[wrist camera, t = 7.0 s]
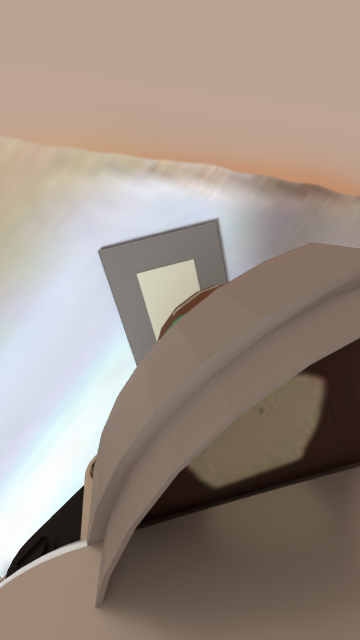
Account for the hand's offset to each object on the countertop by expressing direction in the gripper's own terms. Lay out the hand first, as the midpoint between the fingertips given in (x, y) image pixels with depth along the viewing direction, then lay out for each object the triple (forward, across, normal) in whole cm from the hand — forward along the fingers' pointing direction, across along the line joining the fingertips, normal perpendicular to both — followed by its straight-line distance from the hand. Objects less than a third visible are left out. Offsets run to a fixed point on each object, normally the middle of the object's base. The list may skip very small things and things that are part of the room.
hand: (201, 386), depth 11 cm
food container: (+2, +1, 0) cm, 3 cm away
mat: (+16, 0, 0) cm, 16 cm away
